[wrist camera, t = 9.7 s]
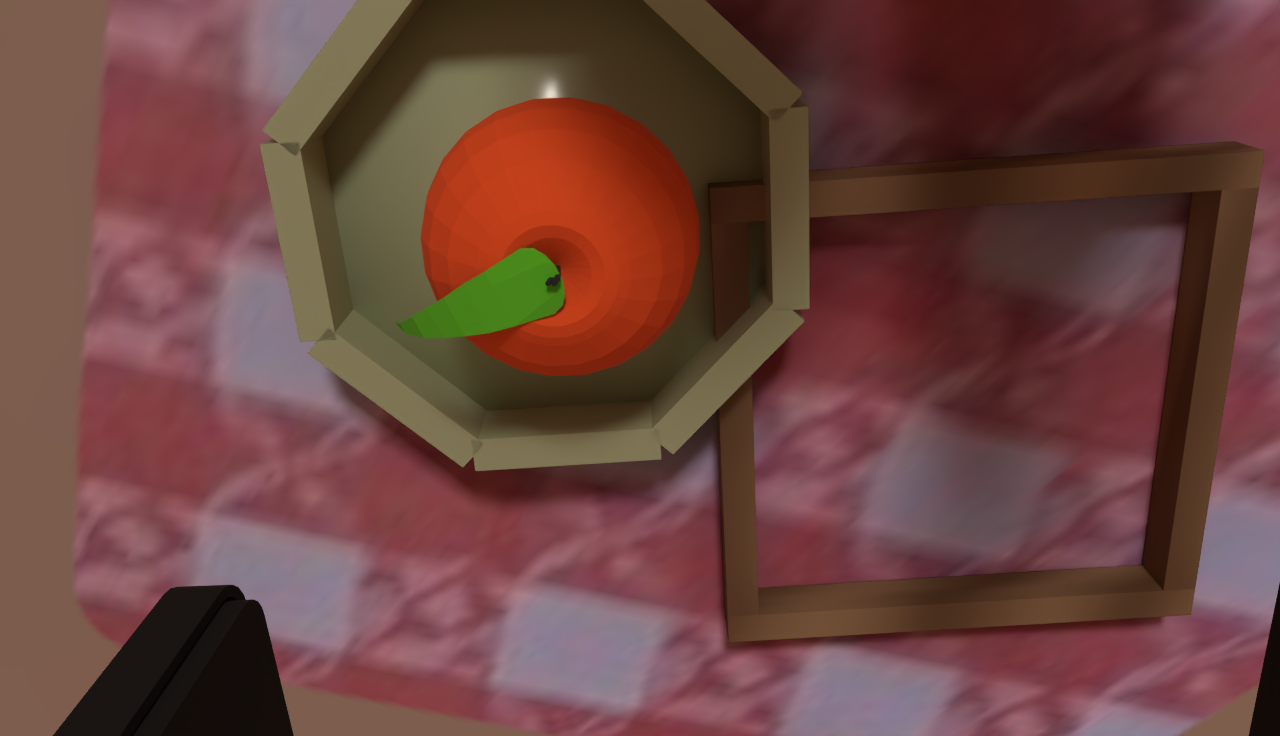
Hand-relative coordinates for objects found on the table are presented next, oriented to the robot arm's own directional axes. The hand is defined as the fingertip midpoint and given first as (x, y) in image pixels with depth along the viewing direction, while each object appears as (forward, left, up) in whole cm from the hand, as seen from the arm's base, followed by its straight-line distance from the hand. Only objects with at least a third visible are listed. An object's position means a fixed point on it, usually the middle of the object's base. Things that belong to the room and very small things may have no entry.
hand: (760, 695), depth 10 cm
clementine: (+3, 0, -21) cm, 21 cm away
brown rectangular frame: (-8, +7, -22) cm, 24 cm away
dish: (+4, 0, -22) cm, 22 cm away
